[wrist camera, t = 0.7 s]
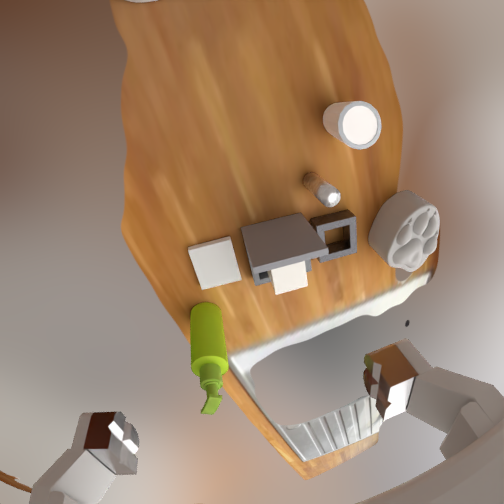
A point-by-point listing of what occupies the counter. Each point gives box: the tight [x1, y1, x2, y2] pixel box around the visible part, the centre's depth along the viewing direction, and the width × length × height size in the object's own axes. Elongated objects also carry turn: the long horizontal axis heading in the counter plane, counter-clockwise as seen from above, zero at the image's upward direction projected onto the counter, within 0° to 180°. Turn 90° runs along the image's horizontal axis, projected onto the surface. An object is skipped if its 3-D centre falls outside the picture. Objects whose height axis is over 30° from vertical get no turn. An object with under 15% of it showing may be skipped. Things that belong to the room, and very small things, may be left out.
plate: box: [188, 236, 242, 290], centre depth 50 cm, size 8×7×1 cm
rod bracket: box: [310, 210, 357, 263], centre depth 50 cm, size 7×7×3 cm
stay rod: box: [303, 172, 340, 207], centre depth 43 cm, size 3×3×8 cm
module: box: [267, 261, 308, 295], centre depth 48 cm, size 5×5×8 cm
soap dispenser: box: [190, 302, 229, 415], centre depth 48 cm, size 6×7×20 cm
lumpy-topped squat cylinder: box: [368, 190, 440, 272], centre depth 49 cm, size 10×13×9 cm
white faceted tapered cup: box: [323, 101, 381, 150], centre depth 39 cm, size 7×7×7 cm
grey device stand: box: [241, 213, 329, 286], centre depth 46 cm, size 10×10×12 cm
